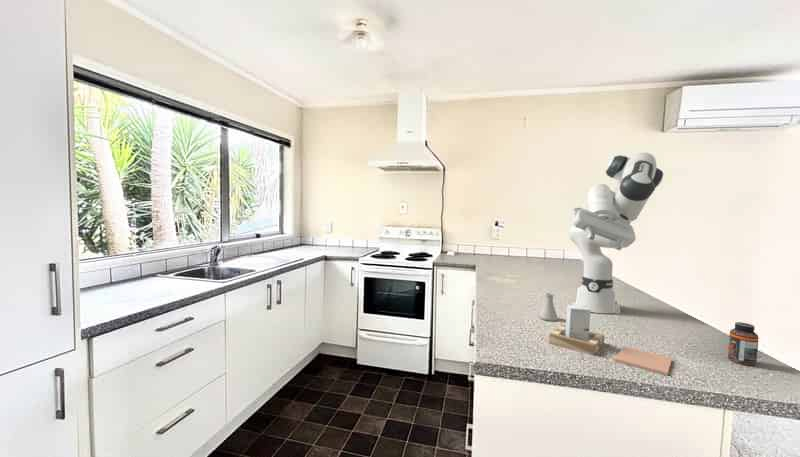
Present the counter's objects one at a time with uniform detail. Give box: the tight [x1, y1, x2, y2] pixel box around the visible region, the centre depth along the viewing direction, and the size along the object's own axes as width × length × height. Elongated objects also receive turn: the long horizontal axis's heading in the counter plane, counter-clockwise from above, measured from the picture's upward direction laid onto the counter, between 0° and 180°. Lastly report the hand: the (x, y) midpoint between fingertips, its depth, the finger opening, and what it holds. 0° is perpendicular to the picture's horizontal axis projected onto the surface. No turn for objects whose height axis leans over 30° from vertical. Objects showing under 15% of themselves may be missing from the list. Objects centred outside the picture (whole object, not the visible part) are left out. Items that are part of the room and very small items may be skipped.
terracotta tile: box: [614, 346, 673, 377], centre depth 99 cm, size 13×12×1 cm
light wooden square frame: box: [548, 324, 605, 356], centre depth 111 cm, size 13×13×3 cm
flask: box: [538, 293, 559, 322], centre depth 136 cm, size 7×7×10 cm
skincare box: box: [565, 304, 591, 342], centre depth 111 cm, size 6×4×12 cm
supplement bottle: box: [727, 321, 760, 367], centre depth 99 cm, size 6×6×11 cm
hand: (605, 243), depth 112 cm, fingers open, 8 cm apart
